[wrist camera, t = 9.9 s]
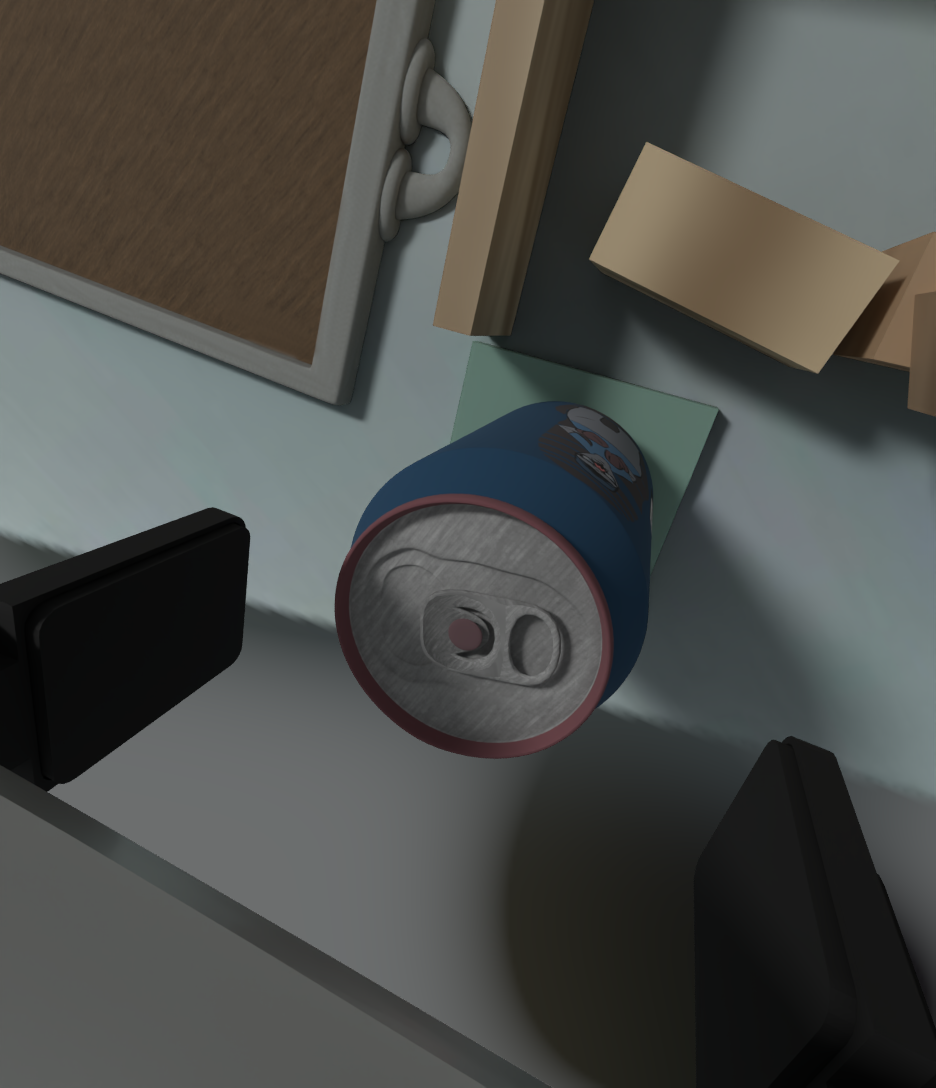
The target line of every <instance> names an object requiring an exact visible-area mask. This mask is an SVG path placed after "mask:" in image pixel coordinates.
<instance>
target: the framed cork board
mask: <svg viewBox="0 0 936 1088" xmlns="http://www.w3.org/2000/svg"><path fill="white" fill-rule="evenodd" d="M435 1H436V0H0V273H1V274H3V275H6V276H8V277H11V278H13V279H16V280H18V281H21V282H23V283H26V284H28V285H31V286H33V287H36V288H39V289H41V290H44V291H46V292H49V293H51V294H54V295H56V296H59V297H61V298H64V299H66V300H69V301H71V302H74V303H76V304H79V305H81V306H84V307H87V308H89V309H92V310H94V311H97V312H99V313H102V314H104V315H107V316H109V317H112V318H114V319H117V320H119V321H122V322H124V323H127V324H130V325H132V326H135V327H137V328H140V329H142V330H145V331H147V332H150V333H152V334H155V335H157V336H160V337H162V338H165V339H167V340H170V341H173V342H175V343H178V344H180V345H183V346H185V347H188V348H190V349H193V350H195V351H198V352H200V353H203V354H205V355H208V356H210V357H213V358H216V359H218V360H221V361H223V362H226V363H228V364H231V365H233V366H236V367H238V368H241V369H243V370H246V371H248V372H251V373H253V374H256V375H259V376H261V377H264V378H266V379H269V380H271V381H274V382H276V383H279V384H281V385H284V386H286V387H289V388H291V389H294V390H296V391H299V392H302V393H304V394H307V395H309V396H312V397H314V398H317V399H319V400H322V401H325V402H327V403H330V404H334V405H338V406H339V405H345V404H349V403H350V401H351V398H352V394H353V390H354V385H355V380H356V376H357V371H358V366H359V361H360V357H361V352H362V347H363V342H364V338H365V333H366V328H367V323H368V319H369V314H370V309H371V305H372V300H373V295H374V290H375V286H376V281H377V276H378V271H379V267H380V262H381V257H382V252H383V248H384V243H385V241H390V240H392V239H393V238H394V237H395V236H396V234H397V232H398V230H399V226H400V220H402V219H411V218H417V217H421V216H425V215H428V214H430V213H432V212H435V211H437V210H438V209H440V208H441V207H443V206H444V205H446V204H447V203H448V202H449V201H450V200H451V199H452V198H453V197H454V196H455V195H456V194H457V193H458V192H459V188H460V183H461V178H462V173H463V168H464V163H465V158H466V152H467V147H468V142H469V137H470V132H471V127H472V125H471V120H470V116H469V114H468V111H467V109H466V107H465V104H464V102H463V100H462V99H461V97H460V96H459V95H458V93H457V92H456V90H455V89H454V88H453V87H452V86H451V85H450V84H449V83H448V82H447V81H446V80H445V79H444V78H443V77H441V76H440V75H439V74H438V73H436V72H435V71H434V65H435V52H434V48H433V45H432V43H431V41H430V40H428V34H429V30H430V25H431V20H432V15H433V11H434V6H435ZM421 125H424V126H428V127H431V128H434V129H436V130H439V131H441V132H442V133H444V134H446V136H447V137H448V138H449V140H450V144H451V150H450V155H449V159H448V161H447V164H446V166H445V167H444V169H443V170H442V171H441V172H439V173H437V174H434V175H425V174H420V173H416V172H412V161H411V157H410V154H409V152H408V151H407V150H406V149H404V148H405V144H406V145H410V144H412V143H414V142H415V140H416V139H417V138H418V136H419V133H420V130H421Z"/></svg>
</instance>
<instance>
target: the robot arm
mask: <svg viewBox="0 0 936 1088" xmlns="http://www.w3.org/2000/svg"><path fill="white" fill-rule="evenodd" d="M249 547H250V533H249V531H248V530H247V529H246V527H245V523H244V521H243V520H242V519H241V518H240V517H237V516H235V515H232V514H230V513H227V512H225V511H222V510H220V509H217V508H213V507H212V508H207V509H204V510H202V511H199V512H196V513H193V514H191V515H188V516H185V517H182V518H180V519H177V520H174V521H171V522H169V523H166V524H163V525H160V526H158V527H155V528H152V529H149V530H147V531H144V532H141V533H139V534H136V535H133V536H130V537H128V538H125V539H122V540H119V541H117V542H114V543H111V544H108V545H106V546H103V547H100V548H97V549H95V550H92V551H89V552H86V553H84V554H81V555H78V556H76V557H73V558H70V559H67V560H65V561H62V562H59V563H57V564H54V565H51V566H48V567H45V568H43V569H40V570H37V571H34V572H32V573H29V574H26V575H24V576H21V577H18V578H15V579H13V580H10V581H7V582H4V583H2V584H0V1088H552V1087H551V1086H549V1085H547V1084H546V1083H544V1082H542V1081H541V1080H539V1079H537V1078H536V1077H534V1076H532V1075H531V1074H529V1073H527V1072H526V1071H524V1070H522V1069H520V1068H519V1067H517V1066H515V1065H513V1064H512V1063H510V1062H509V1061H507V1060H505V1059H503V1058H502V1057H500V1056H498V1055H497V1054H495V1053H493V1052H492V1051H490V1050H488V1049H486V1048H485V1047H483V1046H481V1045H480V1044H478V1043H476V1042H475V1041H473V1040H471V1039H470V1038H468V1037H466V1036H464V1035H463V1034H461V1033H459V1032H458V1031H456V1030H454V1029H452V1028H451V1027H449V1026H448V1025H446V1024H444V1023H443V1022H441V1021H439V1020H437V1019H436V1018H434V1017H432V1016H431V1015H429V1014H427V1013H426V1012H424V1011H422V1010H420V1009H419V1008H417V1007H415V1006H414V1005H412V1004H410V1003H409V1002H407V1001H405V1000H404V999H402V998H400V997H398V996H397V995H395V994H393V993H392V992H390V991H388V990H387V989H385V988H383V987H381V986H380V985H378V984H376V983H375V982H373V981H371V980H370V979H368V978H366V977H365V976H363V975H361V974H359V973H358V972H356V971H354V970H353V969H351V968H349V967H347V966H346V965H344V964H343V963H341V962H339V961H337V960H336V959H334V958H332V957H331V956H329V955H327V954H325V953H324V952H322V951H320V950H319V949H317V948H315V947H313V946H312V945H310V944H308V943H307V942H305V941H303V940H301V939H300V938H298V937H296V936H294V935H293V934H291V933H289V932H288V931H286V930H284V929H283V928H281V927H279V926H277V925H275V924H274V923H272V922H271V921H269V920H267V919H266V918H264V917H262V916H260V915H259V914H257V913H255V912H253V911H252V910H250V909H248V908H247V907H245V906H243V905H241V904H240V903H238V902H236V901H235V900H233V899H231V898H230V897H228V896H226V895H224V894H223V893H221V892H219V891H218V890H216V889H214V888H212V887H211V886H209V885H207V884H205V883H204V882H202V881H200V880H198V879H197V878H195V877H193V876H192V875H190V874H188V873H187V872H185V871H183V870H181V869H180V868H178V867H176V866H174V865H173V864H171V863H169V862H168V861H166V860H164V859H162V858H160V857H159V856H157V855H156V854H154V853H152V852H150V851H149V850H147V849H145V848H144V847H142V846H140V845H138V844H137V843H135V842H133V841H131V840H130V839H128V838H126V837H125V836H123V835H121V834H119V833H117V832H115V831H114V830H112V829H110V828H109V827H107V826H105V825H104V824H102V823H100V822H98V821H97V820H95V819H93V818H91V817H90V816H88V815H86V814H84V813H83V812H81V811H79V810H78V809H76V808H74V807H72V806H71V805H69V804H67V803H65V802H64V801H62V800H60V799H58V798H57V797H55V796H53V795H51V794H50V793H48V792H47V791H49V790H50V789H52V788H53V787H54V786H56V785H57V784H65V783H67V782H70V781H72V780H73V779H75V778H77V777H78V776H79V775H81V774H82V773H83V772H85V771H86V770H88V769H89V768H90V767H92V766H93V765H94V764H96V763H97V762H98V761H100V760H101V759H103V758H104V757H105V756H107V755H108V754H110V753H111V752H112V751H114V750H115V749H116V748H118V747H119V746H121V745H122V744H123V743H125V742H126V741H127V740H129V739H130V738H132V737H133V736H134V735H136V734H137V733H138V732H140V731H141V730H143V729H144V728H145V727H146V726H148V725H149V724H151V723H152V722H154V721H155V720H156V719H158V718H159V717H160V716H162V715H163V714H165V713H166V712H167V711H169V710H170V709H171V708H173V707H174V706H175V705H177V704H178V703H180V702H181V701H182V700H183V699H185V698H187V697H188V696H189V695H191V694H192V693H193V692H195V691H196V690H197V689H199V688H200V687H201V686H203V685H204V684H206V683H207V682H208V681H210V680H211V679H213V678H214V677H215V676H217V675H218V674H219V673H221V672H222V671H223V670H225V669H226V668H228V667H229V666H230V665H232V664H233V663H234V662H235V660H236V659H237V658H238V656H239V654H240V652H241V649H242V641H243V627H244V613H245V601H246V587H247V574H248V560H249ZM694 930H695V931H694V935H695V936H694V937H695V1011H696V1012H695V1016H696V1088H936V1028H935V1026H934V1023H933V1020H932V1017H931V1014H930V1012H929V1009H928V1006H927V1003H926V1000H925V997H924V995H923V992H922V989H921V986H920V984H919V981H918V978H917V975H916V972H915V970H914V967H913V964H912V961H911V959H910V956H909V953H908V950H907V948H906V944H905V942H904V939H903V936H902V934H901V931H900V928H899V925H898V922H897V919H896V916H895V914H894V911H893V908H892V906H891V903H890V900H889V897H888V894H887V892H886V889H885V886H884V884H883V882H882V880H881V878H880V876H879V875H878V874H877V873H876V870H875V867H874V864H873V862H872V859H871V856H870V853H869V850H868V847H867V845H866V841H865V839H864V836H863V833H862V830H861V827H860V824H859V822H858V819H857V816H856V813H855V810H854V808H853V805H852V802H851V799H850V796H849V793H848V790H847V788H846V785H845V782H844V779H843V776H842V773H841V770H840V768H839V765H838V762H837V759H836V757H835V755H834V754H833V753H832V752H830V751H827V750H825V749H822V748H820V747H817V746H815V745H812V744H810V743H807V742H805V741H802V740H800V739H797V738H795V737H792V736H790V737H787V738H786V739H785V740H783V742H782V743H781V742H778V741H776V740H771V741H770V742H769V743H768V744H767V745H766V747H765V748H764V750H763V752H762V753H761V755H760V757H759V758H758V760H757V762H756V763H755V765H754V767H753V768H752V770H751V772H750V774H749V775H748V777H747V779H746V780H745V782H744V784H743V785H742V787H741V789H740V790H739V792H738V794H737V795H736V797H735V799H734V800H733V802H732V804H731V805H730V807H729V809H728V811H727V812H726V814H725V815H724V817H723V819H722V821H721V822H720V824H719V826H718V827H717V829H716V831H715V832H714V834H713V836H712V837H711V839H710V841H709V842H708V844H707V846H706V848H705V849H704V851H703V852H702V854H701V856H700V858H699V860H698V863H697V866H696V870H695V875H694Z"/></svg>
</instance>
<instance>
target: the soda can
mask: <svg viewBox="0 0 936 1088" xmlns="http://www.w3.org/2000/svg"><path fill="white" fill-rule="evenodd" d="M652 518H653V485H652V479H651V474H650V471H649V467H648V465H647V462H646V460H645V458H644V456H643V454H642V452H641V450H640V448H639V447H638V445H637V444H636V442H635V441H634V440H633V438H632V437H631V436H630V435H629V434H628V433H627V432H626V431H625V430H624V429H623V428H622V427H621V426H620V425H619V424H618V423H616V422H615V421H614V420H612V419H611V418H610V417H608V416H606V415H605V414H603V413H601V412H599V411H597V410H595V409H592V408H590V407H587V406H584V405H580V404H576V403H571V402H563V401H547V402H539V403H534V404H530V405H526V406H523V407H521V408H518V409H516V410H514V411H511V412H509V413H508V414H506V415H504V416H502V417H500V418H498V419H496V420H494V421H492V422H491V423H489V424H487V425H485V426H483V427H481V428H479V429H477V430H475V431H474V432H472V433H470V434H468V435H466V436H464V437H462V438H460V439H458V440H457V441H455V442H453V443H451V444H449V445H447V446H445V447H443V448H441V449H440V450H438V451H436V452H434V453H432V454H430V455H428V456H426V457H424V458H423V459H421V460H419V461H417V462H415V463H413V464H412V465H410V466H408V467H406V468H405V469H403V470H402V471H400V472H399V473H398V474H396V475H395V476H394V477H393V478H391V479H390V480H389V481H388V482H387V483H386V484H385V485H384V486H383V487H382V488H381V489H380V490H379V491H378V493H377V494H376V495H375V496H374V497H373V499H372V500H371V502H370V503H369V505H368V506H367V508H366V510H365V511H364V513H363V515H362V517H361V519H360V521H359V524H358V526H357V529H356V531H355V534H354V537H353V541H352V545H351V549H350V551H349V553H348V554H347V556H346V558H345V560H344V563H343V565H342V568H341V571H340V573H339V577H338V581H337V586H336V593H335V622H336V628H337V633H338V637H339V641H340V645H341V648H342V651H343V653H344V656H345V658H346V661H347V663H348V665H349V667H350V669H351V671H352V673H353V675H354V676H355V678H356V679H357V681H358V683H359V684H360V686H361V687H362V688H363V690H364V691H365V693H366V694H367V695H368V696H369V698H370V699H371V700H372V701H373V702H374V703H375V704H376V706H377V707H378V708H379V709H380V710H382V712H383V713H384V714H385V715H387V716H388V717H389V718H390V719H391V720H392V721H393V722H395V723H396V724H397V725H398V726H400V727H401V728H402V729H404V730H405V731H406V732H408V733H409V734H411V735H413V736H414V737H416V738H417V739H419V740H421V741H423V742H425V743H427V744H430V745H432V746H435V747H437V748H440V749H443V750H446V751H449V752H453V753H456V754H461V755H465V756H471V757H478V758H495V759H498V758H511V757H519V756H524V755H529V754H532V753H536V752H539V751H541V750H544V749H547V748H549V747H551V746H553V745H555V744H557V743H558V742H560V741H562V740H563V739H565V738H566V737H568V736H569V735H571V734H572V733H573V732H574V731H576V730H577V729H578V728H579V727H580V726H581V725H582V724H583V723H584V722H585V721H586V720H587V719H588V717H589V716H590V715H591V714H592V712H593V711H594V709H596V708H597V707H599V706H600V705H601V704H602V703H604V702H605V701H606V700H607V699H608V698H609V697H610V696H611V695H612V694H613V693H614V692H615V691H616V690H617V689H618V688H619V687H620V686H621V684H622V683H623V682H624V681H625V679H626V678H627V676H628V675H629V673H630V672H631V670H632V668H633V666H634V665H635V663H636V661H637V658H638V656H639V654H640V651H641V648H642V645H643V642H644V639H645V634H646V630H647V622H648V608H649V586H650V563H651V541H652Z"/></svg>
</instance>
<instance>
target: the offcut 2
mask: <svg viewBox="0 0 936 1088" xmlns="http://www.w3.org/2000/svg"><path fill="white" fill-rule="evenodd" d="M882 253H884V254H887V255H889V256H891V257H893V258H895V259H897V260H899V262H898V264H897V265H896V266H895V268H894V269H893V271H892V272H891V273H890V275H889V276H888V277H887V279H886V280H885V282H884V283H883V284H882V286H881V287H880V289H879V290H878V291H877V293H876V294H875V295H874V297H873V298H872V300H871V301H870V302H869V304H868V305H867V307H866V308H865V309H864V311H863V312H862V313H861V315H860V316H859V318H858V319H857V320H856V322H855V323H854V324H853V326H852V327H851V329H850V330H849V331H848V333H847V334H846V336H845V337H844V338H843V340H842V341H841V342H840V344H839V345H838V347H837V348H836V350H835V352H834V354H833V355H837V356H841V357H846V358H850V359H855V360H859V361H863V362H868V363H872V364H877V365H881V366H885V367H890V368H894V369H899V370H903V371H907V372H910V361H911V345H912V329H913V314H914V298H915V295H916V294H922V293H928V292H934V291H936V232H932V233H929V234H927V235H924V236H922V237H919V238H916V239H914V240H911V241H908V242H906V243H903V244H901V245H898V246H895V247H893V248H890V249H888V250H885V251H882Z"/></svg>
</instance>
